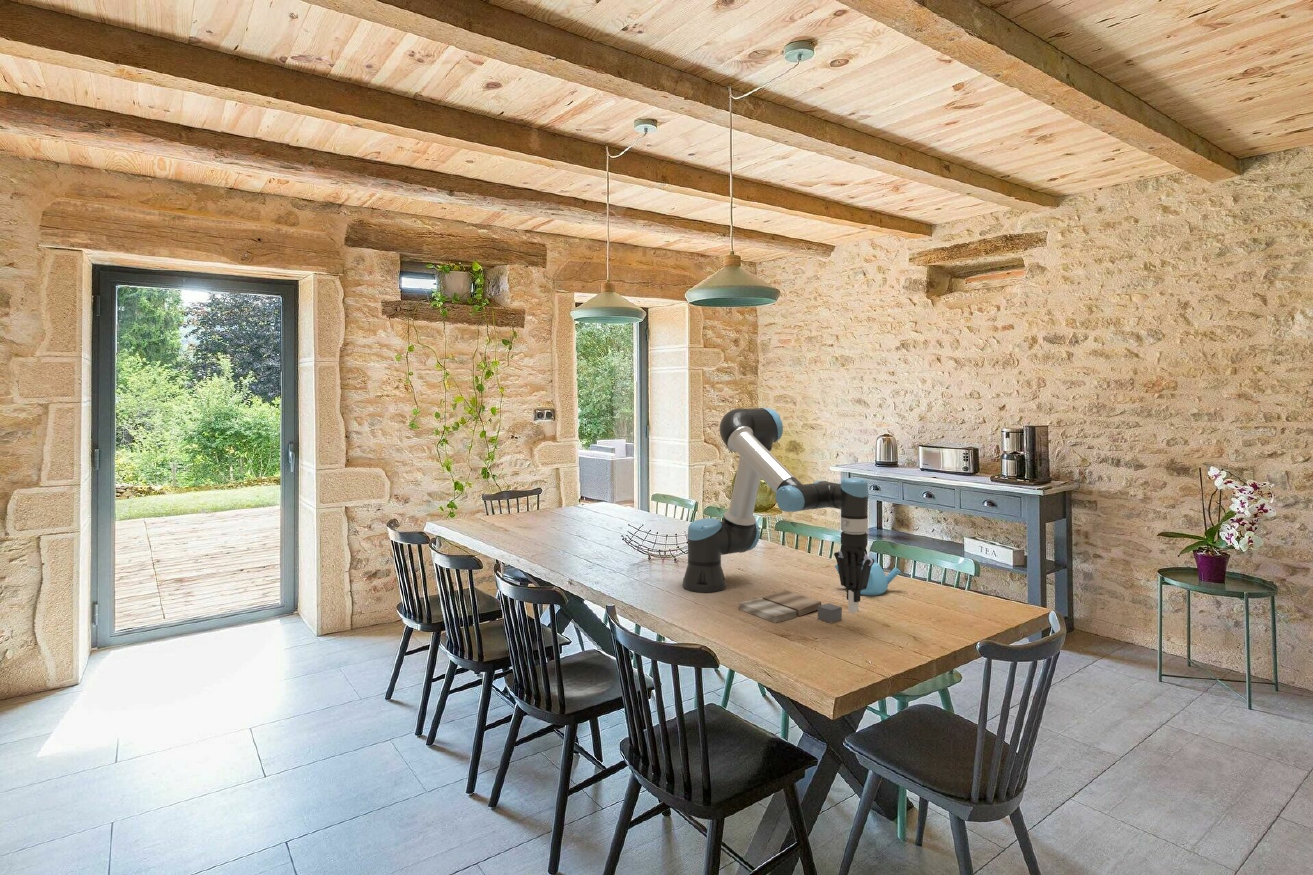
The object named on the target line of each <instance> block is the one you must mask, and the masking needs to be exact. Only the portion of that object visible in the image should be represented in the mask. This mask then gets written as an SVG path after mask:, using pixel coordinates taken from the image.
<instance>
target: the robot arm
mask: <svg viewBox="0 0 1313 875" xmlns="http://www.w3.org/2000/svg"><path fill="white" fill-rule="evenodd" d="M783 425H784V424H783V420H782V418H781V417H780V414H779V413H778V412H777V411H776V410H775V409H772V408H765V407H757V408H756V407H755V408H752V407H751V408H734V409H731V410H729V411H728V412H727V413H725V414H724V416H723V417H722V418H721V421H720V423H719V436H720V438H721V440H722V442H723V444H724V445H725V446H726V447H727V449H729V450H730V451H731V452H734V453H735V452H736V453H737V454H738V455H739V460H738V465H737V470H736V475H735V480H734V484H733V490H732V494H731V500H730V504H729V509H728V510H726V511H725V512H723V517H722V521H721V520H720V519H718V518H714V517H713V518H712V517H709V518H699V519H697V520H693V521H691V523H689V524H688V529H687V565H686V566H687V567H686V570H685V572H684V576H683V580H682V587H683V588H684V589H685V590H688V591H691V592H696V593H715V592H720V591H724V589H726V587H727V581H726V578H725V574H724V571H723V567H722V556H724V555H731V554H735V553H736V554H738V553H740V554H741V553H742V554H743V553H746V552H748V551H752V550H754V548H755V547H757V545H758V543H759V541H760V536H761V535H760V534H761V533H760V530H759V529H760V527H759V524H758V522H757V519H756V517H755V515H754V512H755V508H756V507H755V506H756V503H757V502H756V501H757V497H758V493H759V488H760V483H761V480H763V482H764V483H765V484H766V485H767V486H768V487H769V488H770V489H771V490H772V491H773V492H774V493H775V502H776V503H777V507H778V508H779V509H780V510H781V511H783V512H785V513H786V512H792V513H794V512H800V511H801V512H803V511H807V510H808V511H809V510H817V509H825V508H826V509H827V508H829V509H835V510H836V509H837V510H840V530H841V532H840V544H841V547H840V550H839V551H835V552H834V553H833V555H834V558H835V560H836V565H838V571H839V573H838V575H839V580H840V585H841V586H842V587H845V589H846V600H847V602H848V603H847V605H848V608H847V610H848V611H847V612H848V613H849V614H856V613H858V612H859V603H860V602H861V595H860V592H861V590H865V589H867V584H868V580H869V575H870V571H871V567H872V565H873V563H874V562H875V558H871V557H870V556H869V555H868V550H867V547H868V541H869V540H868V538H869V537H868V531H869V520H868V519H869V516H868V515H869V514H868V511H869V510H868V509H869V494H870V493H869V484H868V481H867V480H866V479H865V478H859V477H845V478H842V479H841V482H840V483H838V482H837V483H836V482H831V481H828V480H817V481H814V482H813V483H806V484H803V483H801V482H800V480H798V479H797V478H796V477H795V476H794V475H793V474H792V472H790V471H789V470H788V468H786V467H785V466H784V465H783V463H781V462H780V460H778V458H776V457H775V456H774V454H773V453H772V452H771V451H772V449H773V444H774V443H776V442H778V441H779V440H780V439H781V438H782V436H783V431H784V426H783ZM863 563H864V564H863ZM875 563H876V562H875ZM838 571H837V572H838Z"/></svg>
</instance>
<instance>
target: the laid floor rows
mask: <svg viewBox="0 0 1313 875" xmlns="http://www.w3.org/2000/svg"><path fill="white" fill-rule="evenodd" d="M738 609H739V610H740V611H743V612H746V613H748V614H751V615H753V616H755V617H758V618H761V619H764V620H766V621H769V622H772V623H773V624H777V623H780V622H783V621H788V620H792V619H794V618H797V615H796V611H795V610H792V609H790V608H787V607H784V606H781V605H778V604H775V603H773V602H770V601H767V600H764V599H762V598H761V597H759V598H758V597H757V598H755V599H754V598H753V599H750V600H745V601H741V602H739V603H738Z"/></svg>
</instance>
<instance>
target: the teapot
mask: <svg viewBox="0 0 1313 875" xmlns="http://www.w3.org/2000/svg"><path fill="white" fill-rule="evenodd" d="M863 564H864V563H863ZM834 567H835V569H836V571H837V573H838V574H839V571H838V565H837V564H834ZM901 572H902V571H901V570H900V569H899V568H898V567H896V566H894V568H893V569H892V570H891V571H890V572H889V573H888V574H887V575H886V574H885V571H884V570H883V568H882V566H881V565H880V563H878V562H874V563H873V565H872V567H871V571H870V575H869V580H868V584H867V589H865V590H861V592H860V596H880V595H883V594H884V593H885V592H886V591H887V590H888V587H889V584H890V583H891V582H892V581H893V580H894V579H895V578H896V577H897V576H898V575H899V574H900V573H901Z"/></svg>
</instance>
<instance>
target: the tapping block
mask: <svg viewBox="0 0 1313 875" xmlns="http://www.w3.org/2000/svg"><path fill="white" fill-rule="evenodd" d="M842 615H843V607H842V606H840V605H839V606H838V605H837V604H832V603H829V602H828V603H824V604H821V606H818V609H817V619H818V620H820V621H823V622H826V623H830V624H833V623H836V622H840V621H842V620H843V619H842V618H843V616H842Z"/></svg>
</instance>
